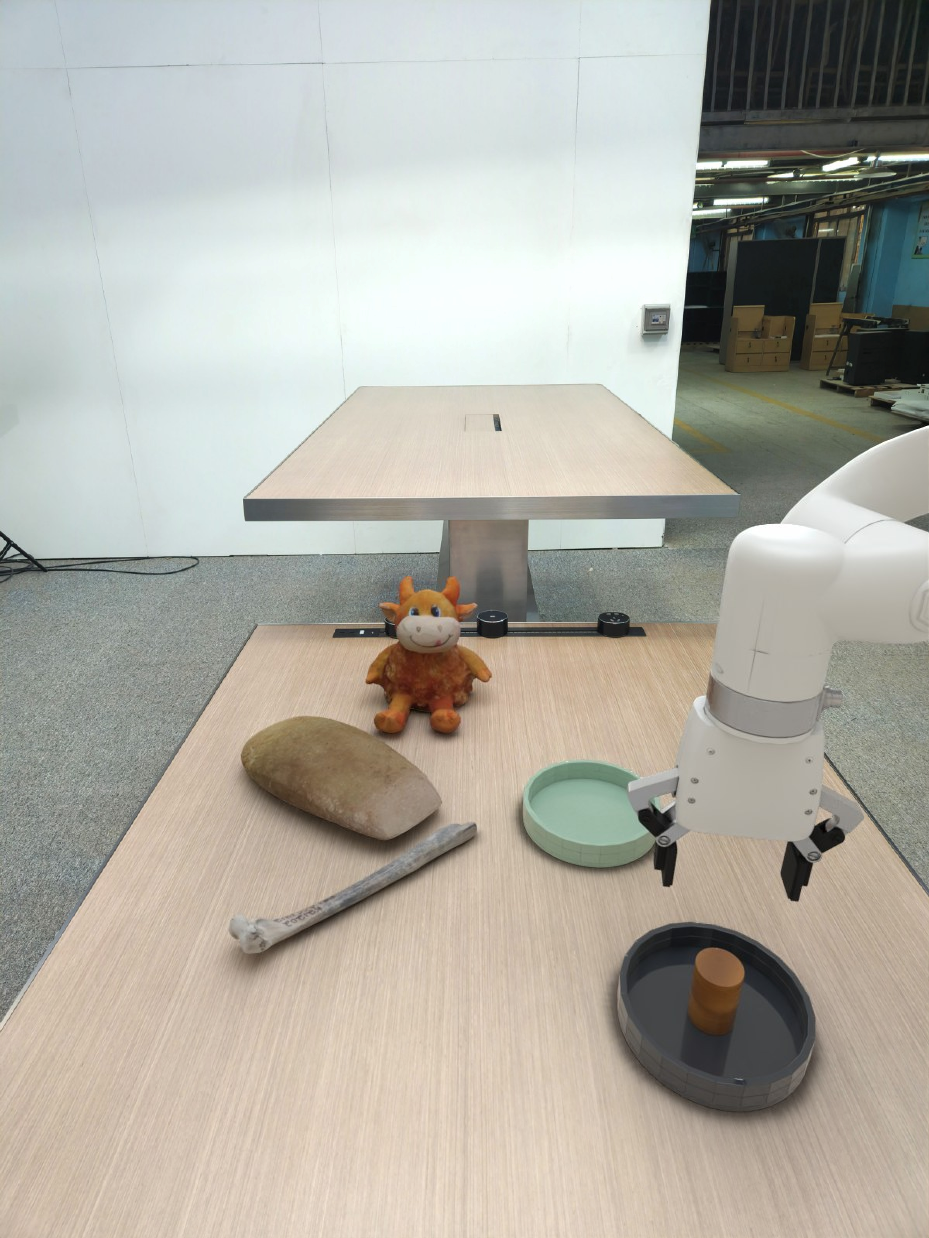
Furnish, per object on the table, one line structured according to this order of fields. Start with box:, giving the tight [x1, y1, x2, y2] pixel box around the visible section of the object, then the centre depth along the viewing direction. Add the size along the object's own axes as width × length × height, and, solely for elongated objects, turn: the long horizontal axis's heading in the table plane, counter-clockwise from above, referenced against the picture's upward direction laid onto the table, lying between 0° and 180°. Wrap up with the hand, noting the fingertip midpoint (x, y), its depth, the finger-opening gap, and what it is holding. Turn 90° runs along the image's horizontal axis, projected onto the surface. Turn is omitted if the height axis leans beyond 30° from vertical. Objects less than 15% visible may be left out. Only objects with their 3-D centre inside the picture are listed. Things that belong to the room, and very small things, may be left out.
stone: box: [240, 715, 443, 841], centre depth 96 cm, size 30×15×6 cm, turn 51°
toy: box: [365, 575, 493, 734], centre depth 116 cm, size 19×22×25 cm
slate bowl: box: [616, 921, 817, 1113], centre depth 66 cm, size 16×16×3 cm
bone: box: [228, 821, 478, 955], centre depth 80 cm, size 29×4×5 cm, turn 129°
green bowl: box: [522, 758, 662, 868], centre depth 90 cm, size 16×16×3 cm
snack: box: [687, 948, 745, 1036], centre depth 65 cm, size 4×4×6 cm
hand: (726, 881), depth 61 cm, fingers open, 9 cm apart
